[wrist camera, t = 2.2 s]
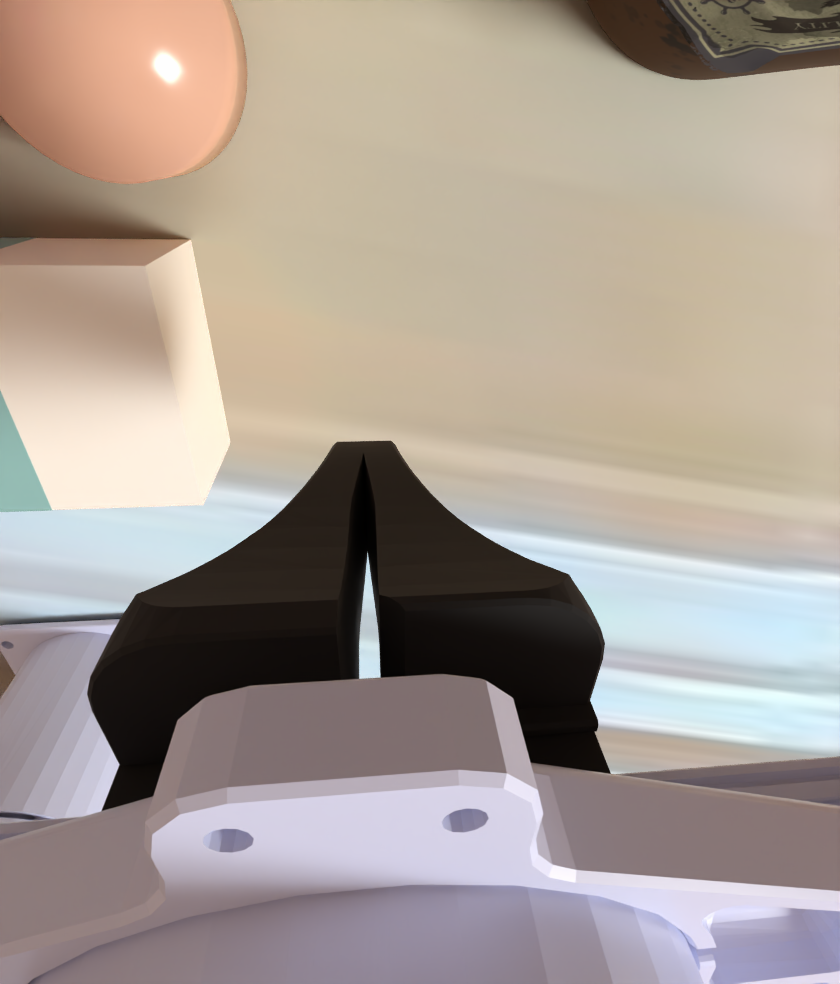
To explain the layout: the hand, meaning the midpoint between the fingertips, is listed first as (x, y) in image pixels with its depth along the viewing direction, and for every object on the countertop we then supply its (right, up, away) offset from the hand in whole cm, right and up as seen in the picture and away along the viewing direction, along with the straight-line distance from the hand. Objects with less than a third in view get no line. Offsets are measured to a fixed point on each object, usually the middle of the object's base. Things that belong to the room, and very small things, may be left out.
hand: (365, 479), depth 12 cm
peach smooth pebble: (-7, +12, +2) cm, 14 cm away
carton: (-11, +5, +7) cm, 14 cm away
